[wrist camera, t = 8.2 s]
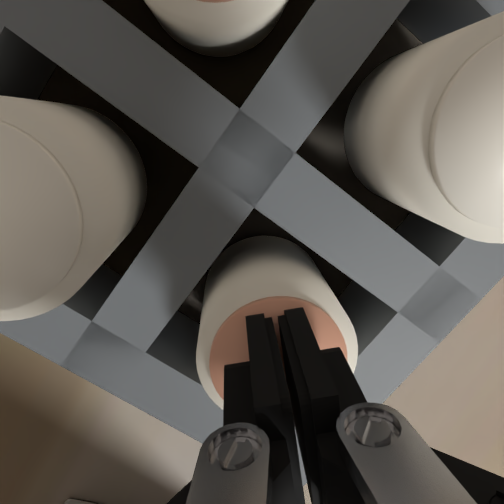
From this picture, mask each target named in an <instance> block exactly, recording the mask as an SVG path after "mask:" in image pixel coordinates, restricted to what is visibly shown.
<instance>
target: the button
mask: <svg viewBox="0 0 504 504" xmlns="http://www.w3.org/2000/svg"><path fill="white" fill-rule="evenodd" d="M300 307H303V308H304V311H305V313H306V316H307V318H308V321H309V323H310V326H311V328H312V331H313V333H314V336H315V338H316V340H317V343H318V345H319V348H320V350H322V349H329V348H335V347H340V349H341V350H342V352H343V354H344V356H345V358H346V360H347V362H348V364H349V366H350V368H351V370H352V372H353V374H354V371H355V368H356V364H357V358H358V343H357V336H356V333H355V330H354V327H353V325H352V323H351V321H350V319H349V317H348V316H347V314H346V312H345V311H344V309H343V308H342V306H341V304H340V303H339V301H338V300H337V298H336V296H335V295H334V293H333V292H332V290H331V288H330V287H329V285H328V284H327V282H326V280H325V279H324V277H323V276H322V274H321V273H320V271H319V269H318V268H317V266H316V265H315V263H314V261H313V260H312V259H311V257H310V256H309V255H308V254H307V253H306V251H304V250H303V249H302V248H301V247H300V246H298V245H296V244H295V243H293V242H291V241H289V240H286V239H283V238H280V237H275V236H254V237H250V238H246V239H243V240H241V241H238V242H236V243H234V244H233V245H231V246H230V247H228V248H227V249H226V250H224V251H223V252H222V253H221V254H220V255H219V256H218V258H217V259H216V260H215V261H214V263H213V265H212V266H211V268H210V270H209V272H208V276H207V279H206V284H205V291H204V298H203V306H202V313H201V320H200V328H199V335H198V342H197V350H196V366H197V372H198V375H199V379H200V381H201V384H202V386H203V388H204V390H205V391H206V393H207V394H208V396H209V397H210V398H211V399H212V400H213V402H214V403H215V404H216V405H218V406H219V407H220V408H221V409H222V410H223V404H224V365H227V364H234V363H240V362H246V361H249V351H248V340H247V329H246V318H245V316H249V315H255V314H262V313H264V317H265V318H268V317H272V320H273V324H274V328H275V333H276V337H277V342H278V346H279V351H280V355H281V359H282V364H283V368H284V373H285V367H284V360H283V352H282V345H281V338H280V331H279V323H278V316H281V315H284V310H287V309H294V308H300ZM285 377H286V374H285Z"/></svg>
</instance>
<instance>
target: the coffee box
mask: <svg viewBox="0 0 504 504" xmlns="http://www.w3.org/2000/svg"><path fill="white" fill-rule="evenodd" d="M64 504H95V503H90V502H86V501H81V500H75V499H67V500H66V502H65V503H64Z"/></svg>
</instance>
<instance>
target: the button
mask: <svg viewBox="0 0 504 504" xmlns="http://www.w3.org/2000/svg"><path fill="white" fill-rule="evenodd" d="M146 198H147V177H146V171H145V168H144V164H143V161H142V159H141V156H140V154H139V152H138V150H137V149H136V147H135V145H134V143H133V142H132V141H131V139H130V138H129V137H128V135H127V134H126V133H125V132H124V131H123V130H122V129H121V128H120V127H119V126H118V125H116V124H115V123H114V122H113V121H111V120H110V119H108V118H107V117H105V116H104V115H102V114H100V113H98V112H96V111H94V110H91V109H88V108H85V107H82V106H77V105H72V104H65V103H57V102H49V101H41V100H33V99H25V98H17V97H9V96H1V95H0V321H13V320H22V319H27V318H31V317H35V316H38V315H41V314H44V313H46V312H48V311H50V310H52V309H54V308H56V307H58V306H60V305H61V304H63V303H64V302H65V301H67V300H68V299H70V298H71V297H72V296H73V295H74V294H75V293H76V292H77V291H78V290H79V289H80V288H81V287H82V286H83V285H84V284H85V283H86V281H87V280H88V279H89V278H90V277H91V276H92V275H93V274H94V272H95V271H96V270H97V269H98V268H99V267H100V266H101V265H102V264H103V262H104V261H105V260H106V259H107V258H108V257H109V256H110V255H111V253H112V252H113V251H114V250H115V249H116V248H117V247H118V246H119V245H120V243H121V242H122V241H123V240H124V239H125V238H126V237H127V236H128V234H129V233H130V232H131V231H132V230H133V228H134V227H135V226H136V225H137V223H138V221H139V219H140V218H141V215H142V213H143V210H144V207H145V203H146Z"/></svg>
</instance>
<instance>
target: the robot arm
mask: <svg viewBox="0 0 504 504" xmlns="http://www.w3.org/2000/svg"><path fill="white" fill-rule="evenodd" d="M245 318H246V329H247V340H248V351H249V361H246V362H240V363H234V364H227V365H224V404H223V427H220V428H218V429H217V430H215V431H214V432H212V433H211V434H210V435H209V436H208V437H207V438H206V440H205V441H204V442H203V445H202V447H201V449H200V452H199V456H198V460H197V463H196V467H195V471H194V475H193V478H192V480H191V481H190V482H189V483H188V484H187V485H186V486H185V487H184V488H183V489H182V490H181V491H180V492H178V493H177V494H176V495H175V496H174V497H173V498H172V499H171V500H170V501H169V502H168V503H167V504H305V499H304V492H303V484H302V477H301V470H300V462H299V455H298V448H297V440H296V434H297V439H298V443H299V448H300V452H301V457H302V461H303V466H304V471H305V475H306V480H307V484H308V489H309V493H310V498H311V502H312V504H504V478H503V477H501V476H498V475H496V474H493V473H491V472H489V471H486V470H484V469H481V468H479V467H476V466H474V465H472V464H469V463H467V462H464V461H462V460H460V459H457V458H455V457H452V456H450V455H448V454H445V453H443V452H440V451H438V450H435V449H433V448H431V447H429V446H428V445H427V443H426V442H425V441H424V440H423V439H422V437H421V436H420V435H419V434H418V433H417V431H416V430H415V429H414V428H413V427H412V426H411V424H410V423H409V422H408V421H407V420H406V418H405V417H404V416H403V415H402V414H400V413H399V412H398V411H397V410H395V409H393V408H391V407H389V406H387V405H383V404H380V403H371V402H367V400H366V398H365V396H364V394H363V392H362V390H361V388H360V386H359V384H358V382H357V380H356V378H355V376H354V374H353V372H352V370H351V368H350V366H349V364H348V362H347V360H346V358H345V356H344V354H343V352H342V350H341V349H340V347H335V348H329V349H322V350H320V348H319V345H318V343H317V340H316V338H315V336H314V333H313V331H312V328H311V326H310V323H309V321H308V318H307V316H306V313H305V311H304V308H303V307H300V308H294V309H287V310H284V315H281V316H278V323H279V331H280V338H281V345H282V352H283V360H284V367H285V373H284V368H283V364H282V359H281V355H280V351H279V346H278V342H277V337H276V333H275V328H274V324H273V320H272V317H268V318H265V317H264V313H262V314H255V315H249V316H245ZM285 374H286V377H285ZM294 425H295V426H294ZM295 430H296V433H295Z"/></svg>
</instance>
